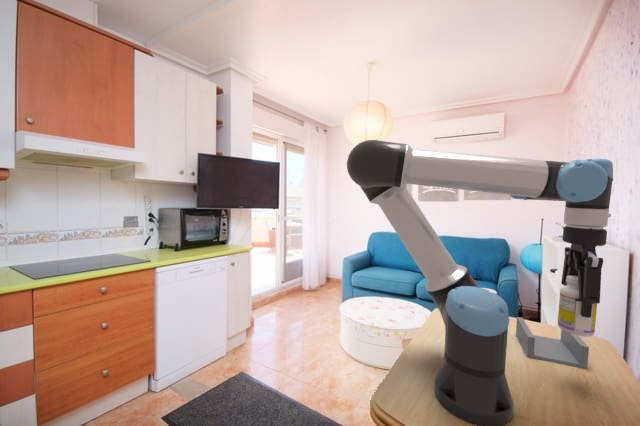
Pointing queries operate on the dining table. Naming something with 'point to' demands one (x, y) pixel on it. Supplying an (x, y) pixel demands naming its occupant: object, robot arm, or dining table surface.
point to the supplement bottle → (572, 309)
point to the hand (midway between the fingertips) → (575, 322)
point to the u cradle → (553, 347)
